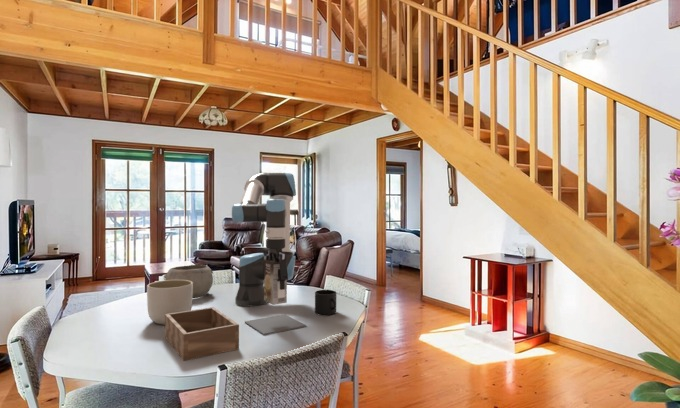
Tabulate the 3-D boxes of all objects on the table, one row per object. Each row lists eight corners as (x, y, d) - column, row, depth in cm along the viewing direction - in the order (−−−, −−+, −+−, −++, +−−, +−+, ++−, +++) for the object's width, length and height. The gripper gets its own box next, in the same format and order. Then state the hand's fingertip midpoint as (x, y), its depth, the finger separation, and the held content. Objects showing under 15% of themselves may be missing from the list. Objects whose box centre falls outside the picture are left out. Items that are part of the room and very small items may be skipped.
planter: (136, 324, 155) (136, 286, 155) (169, 313, 171) (169, 278, 171) (171, 330, 150) (171, 289, 149) (201, 317, 165) (201, 281, 165)
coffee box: (263, 300, 159) (263, 260, 159) (278, 298, 162) (278, 258, 162) (272, 305, 151) (272, 262, 151) (287, 302, 154) (287, 261, 154)
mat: (244, 322, 159) (244, 321, 159) (285, 315, 169) (285, 314, 169) (263, 335, 144) (263, 333, 144) (306, 326, 154) (306, 325, 154)
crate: (164, 336, 142) (165, 314, 142) (213, 327, 152) (213, 307, 152) (183, 360, 121) (183, 334, 121) (238, 348, 131) (239, 324, 131)
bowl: (202, 289, 220) (202, 262, 220) (220, 296, 203) (221, 267, 203) (158, 295, 204) (158, 266, 204) (175, 304, 187) (175, 272, 187)
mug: (326, 318, 166) (326, 296, 166) (310, 311, 175) (310, 291, 175) (344, 314, 171) (344, 293, 171) (328, 308, 181) (328, 288, 181)
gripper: (255, 236, 163) (255, 291, 163) (279, 240, 145) (279, 302, 145) (272, 236, 168) (271, 289, 168) (297, 239, 150) (297, 299, 150)
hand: (275, 295), depth 156 cm, fingers closed on coffee box, 9 cm apart
